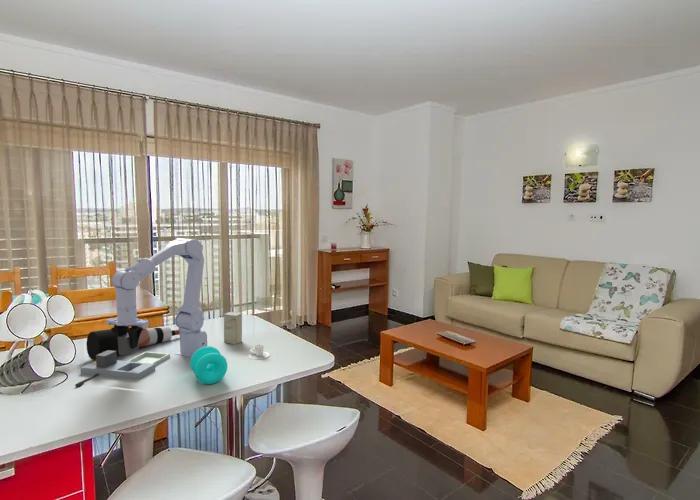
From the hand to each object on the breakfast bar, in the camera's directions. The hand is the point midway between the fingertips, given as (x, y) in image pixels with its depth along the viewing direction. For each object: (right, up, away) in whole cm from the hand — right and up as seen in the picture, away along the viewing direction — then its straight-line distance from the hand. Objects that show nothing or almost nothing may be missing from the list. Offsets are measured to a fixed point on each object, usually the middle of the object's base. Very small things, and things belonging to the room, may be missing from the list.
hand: (128, 347), depth 133 cm
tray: (+1, -8, +11) cm, 14 cm away
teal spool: (+28, -10, -3) cm, 30 cm away
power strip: (-5, -10, -2) cm, 11 cm away
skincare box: (+25, -6, +33) cm, 42 cm away
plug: (0, -2, 0) cm, 2 cm away
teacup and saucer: (+40, -8, +22) cm, 46 cm away
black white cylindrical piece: (-10, -7, +25) cm, 28 cm away
